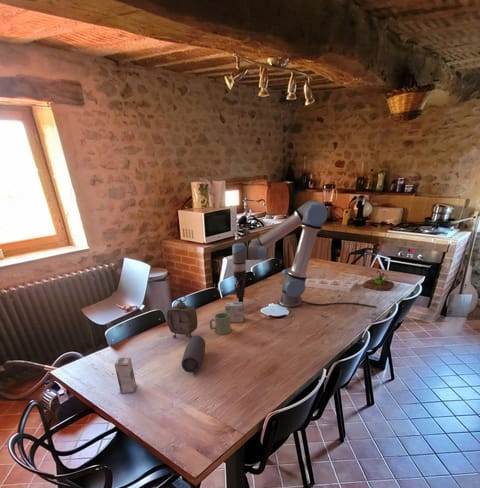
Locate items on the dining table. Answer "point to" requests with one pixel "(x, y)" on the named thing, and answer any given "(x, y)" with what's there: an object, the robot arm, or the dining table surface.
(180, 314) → the tabletop clock
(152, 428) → the dining table surface
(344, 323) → the dining table surface
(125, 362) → the syrup box
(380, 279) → the plant
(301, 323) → the dining table surface
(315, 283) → the holder
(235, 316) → the light bulb box
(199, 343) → the bluetooth speaker
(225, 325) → the mug
